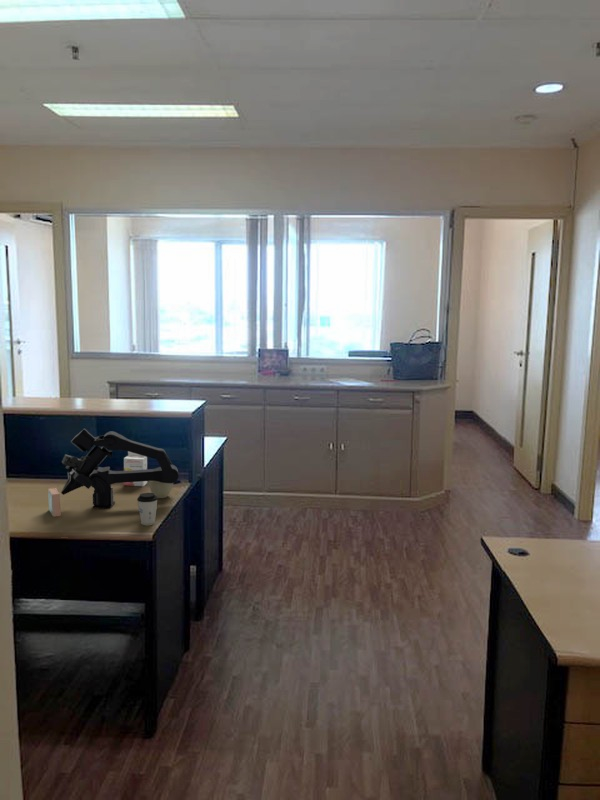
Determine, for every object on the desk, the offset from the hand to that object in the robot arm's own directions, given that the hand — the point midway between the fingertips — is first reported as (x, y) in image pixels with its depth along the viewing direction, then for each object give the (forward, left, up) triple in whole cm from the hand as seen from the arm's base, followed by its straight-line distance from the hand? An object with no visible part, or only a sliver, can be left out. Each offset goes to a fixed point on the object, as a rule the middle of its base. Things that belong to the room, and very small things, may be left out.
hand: (62, 493), depth 218 cm
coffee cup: (-33, +11, -7) cm, 36 cm away
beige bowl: (-31, -19, -7) cm, 37 cm away
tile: (+2, +1, -7) cm, 7 cm away
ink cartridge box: (-18, -35, -7) cm, 40 cm away
